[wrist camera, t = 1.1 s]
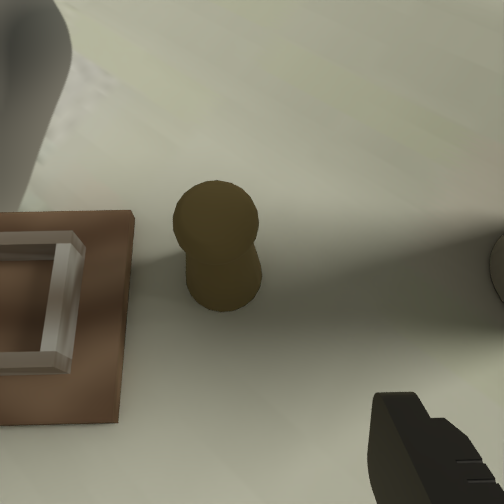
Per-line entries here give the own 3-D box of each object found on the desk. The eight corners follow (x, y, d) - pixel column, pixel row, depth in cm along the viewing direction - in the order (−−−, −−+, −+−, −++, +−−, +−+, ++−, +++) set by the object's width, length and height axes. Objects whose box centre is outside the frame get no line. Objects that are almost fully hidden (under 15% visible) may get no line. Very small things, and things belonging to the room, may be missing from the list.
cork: (211, 326, 35) (195, 277, 25) (171, 264, 37) (142, 195, 27) (276, 285, 37) (287, 222, 26) (235, 227, 39) (230, 148, 28)
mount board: (-59, 222, 39) (-96, 194, 34) (135, 218, 39) (121, 190, 35) (-114, 428, 32) (-167, 425, 28) (118, 422, 33) (98, 418, 28)
